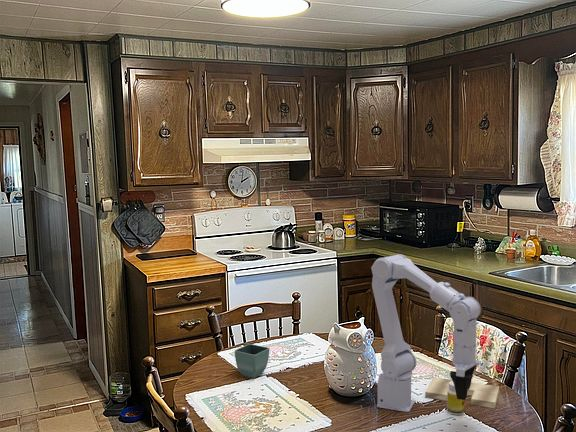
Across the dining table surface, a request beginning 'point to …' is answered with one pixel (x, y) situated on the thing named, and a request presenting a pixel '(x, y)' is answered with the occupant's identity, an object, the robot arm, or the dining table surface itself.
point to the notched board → (479, 392)
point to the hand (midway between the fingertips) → (463, 393)
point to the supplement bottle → (454, 401)
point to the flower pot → (252, 360)
